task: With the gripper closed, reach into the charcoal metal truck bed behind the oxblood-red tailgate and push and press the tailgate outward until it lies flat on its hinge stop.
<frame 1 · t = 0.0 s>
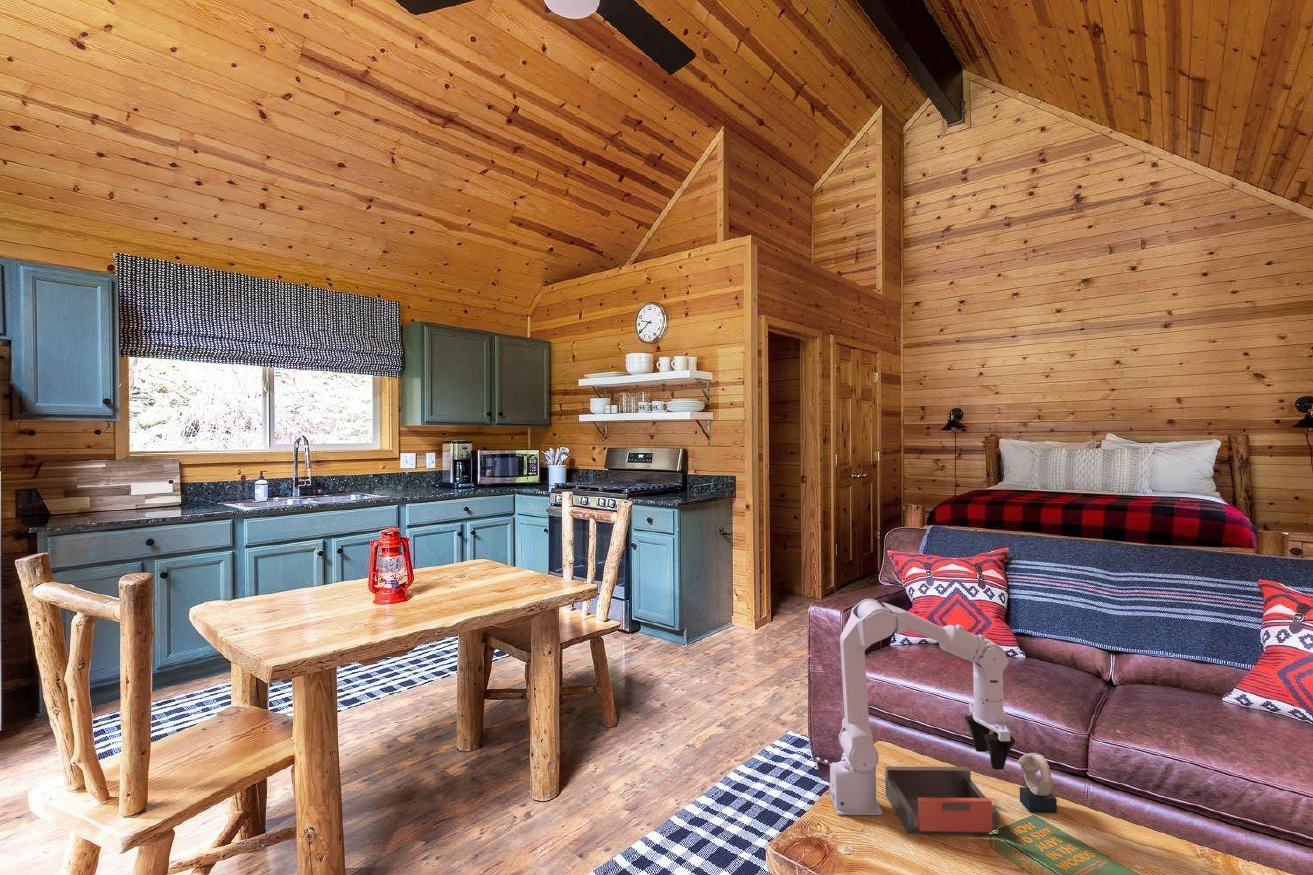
hand: (989, 759, 140), 10 cm above the table, tool pointing down, fingers open, 7 cm apart
truck bed: (939, 813, 137), on the table
ring sculpture: (1037, 807, 139), on the table
tailgate: (954, 829, 129), point 2 cm above the table, hinge at 0.0°
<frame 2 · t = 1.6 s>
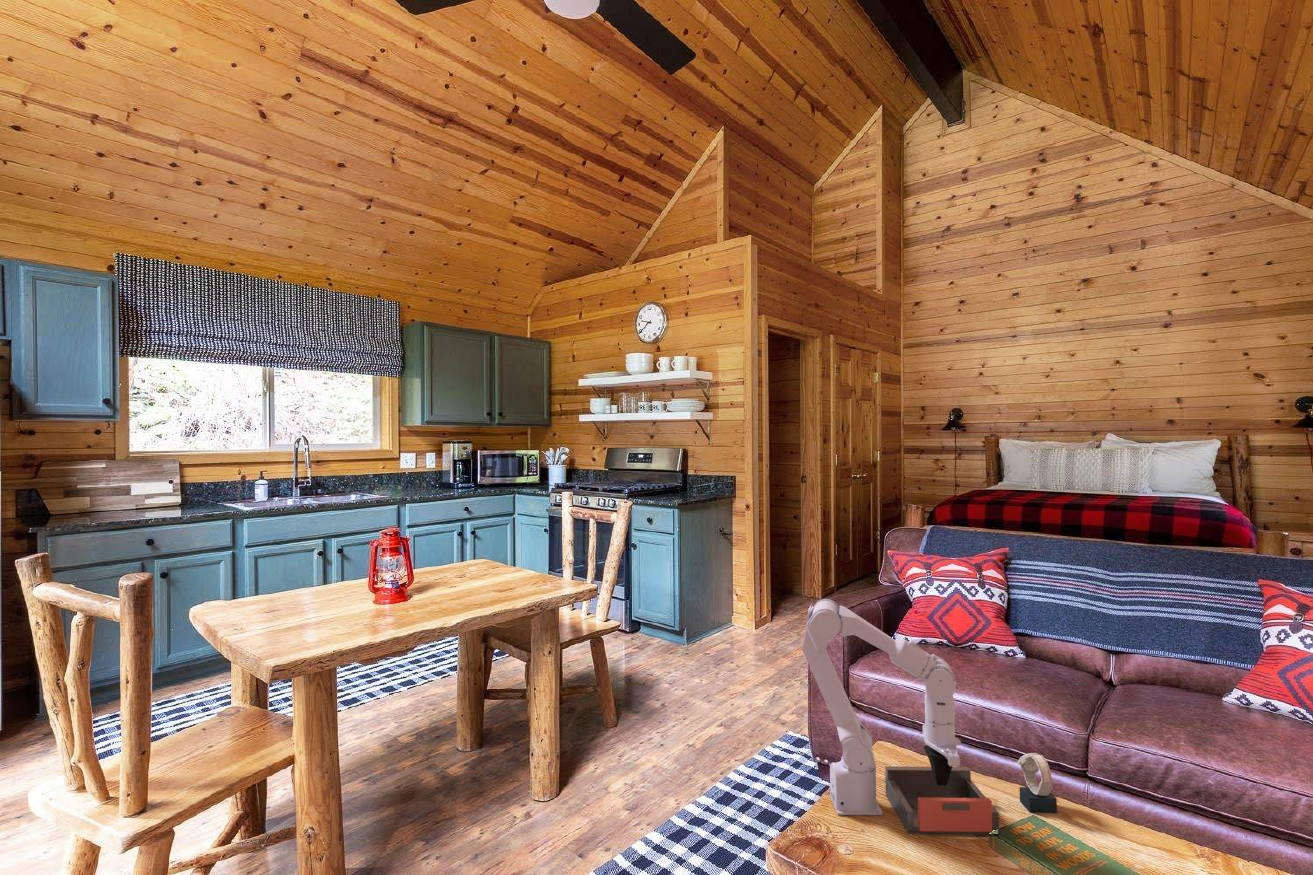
hand: (941, 783, 136), 7 cm above the table, tool pointing down, fingers closed
nothing on the table moved.
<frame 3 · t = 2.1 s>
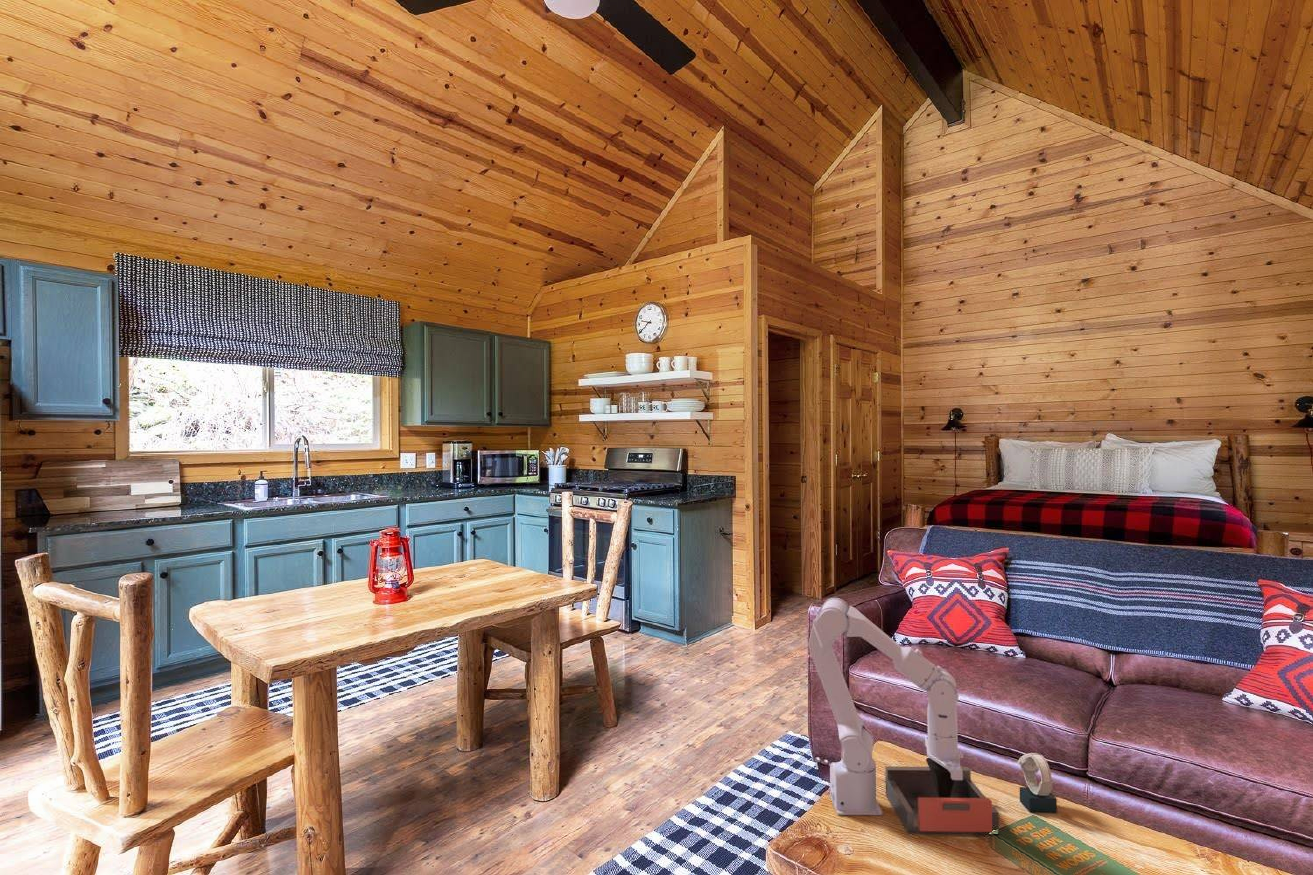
hand: (943, 796, 135), 5 cm above the table, tool pointing down, fingers closed
nothing on the table moved.
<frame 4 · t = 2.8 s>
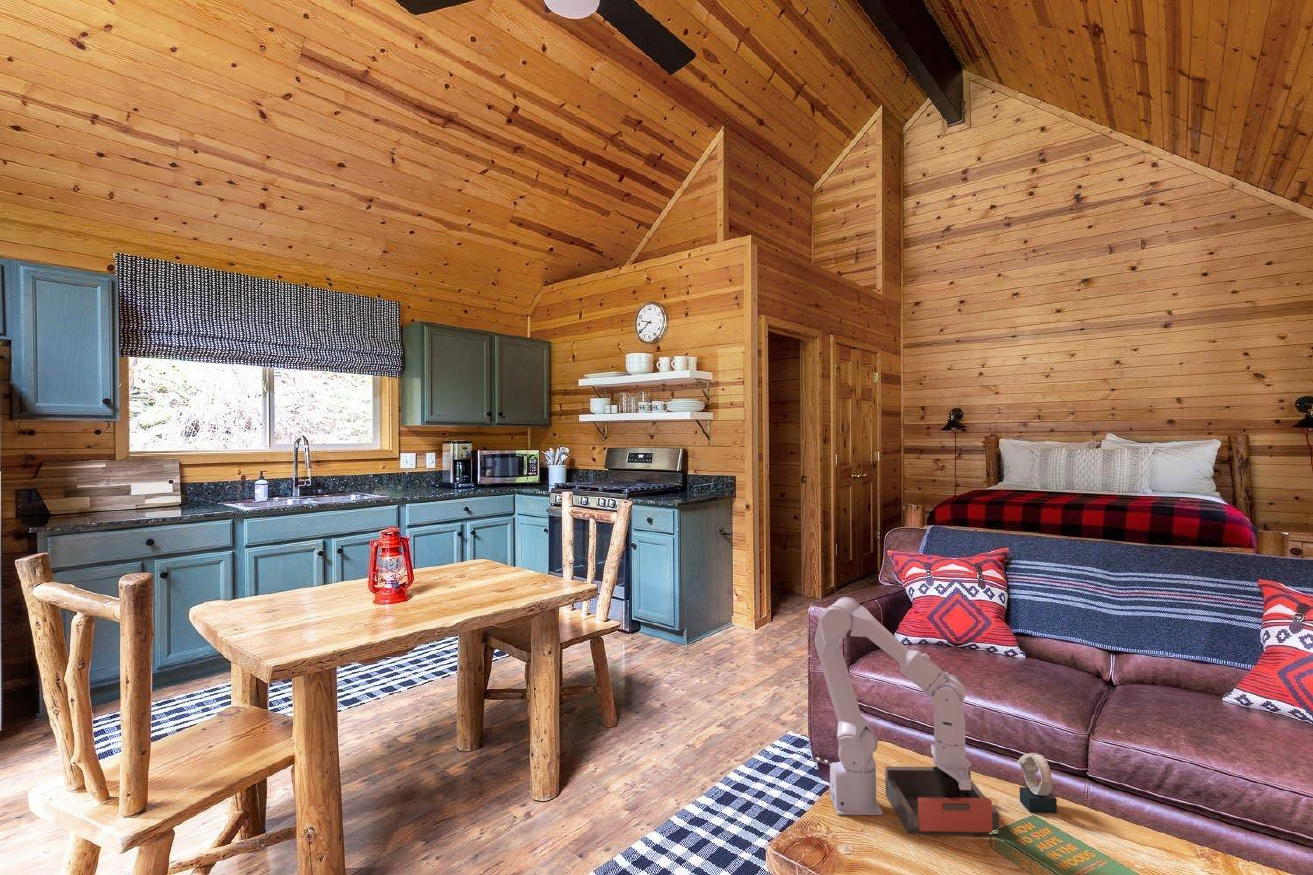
hand: (950, 806, 131), 5 cm above the table, tool pointing down, fingers closed
tailgate: (954, 829, 129), point 2 cm above the table, hinge at 0.0°, touching gripper
everything else where it was.
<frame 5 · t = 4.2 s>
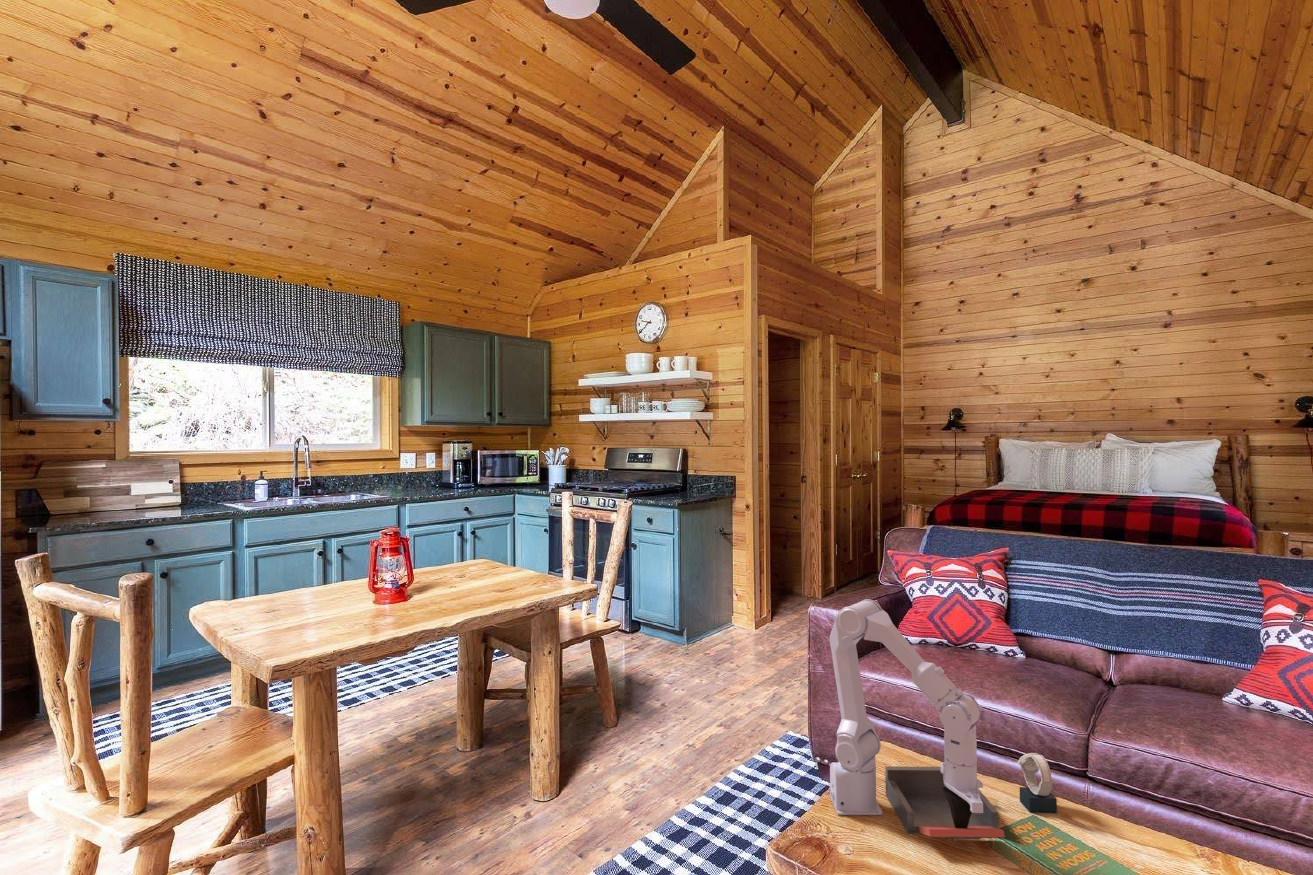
hand: (961, 828, 126), 3 cm above the table, tool pointing down, fingers closed, pressing on tailgate
tailgate: (954, 829, 129), point 2 cm above the table, hinge at 64.7°, touching gripper
everything else where it was.
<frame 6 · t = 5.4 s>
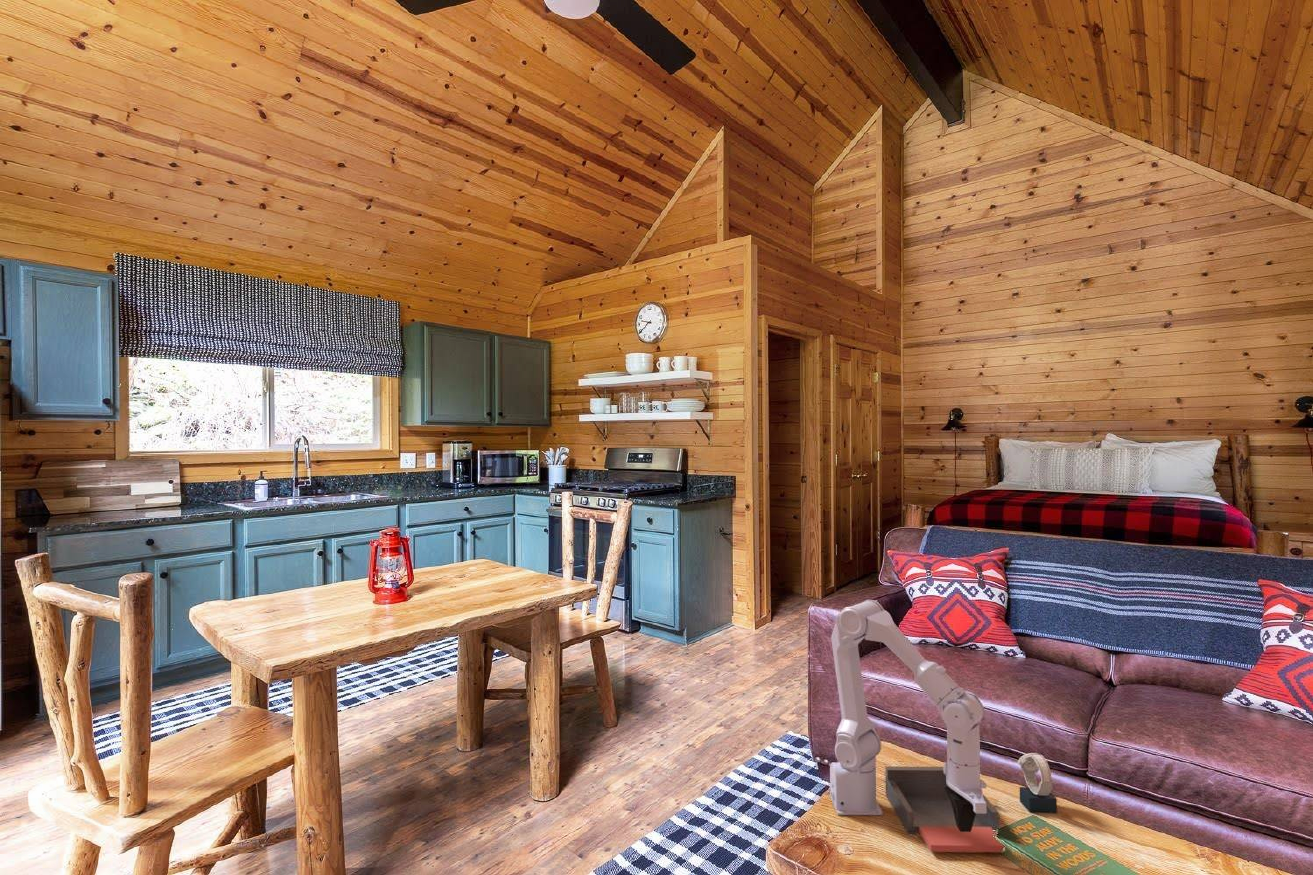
hand: (964, 829, 125), 4 cm above the table, tool pointing down, fingers closed
tailgate: (954, 829, 129), point 2 cm above the table, hinge at 90.3°
everything else where it was.
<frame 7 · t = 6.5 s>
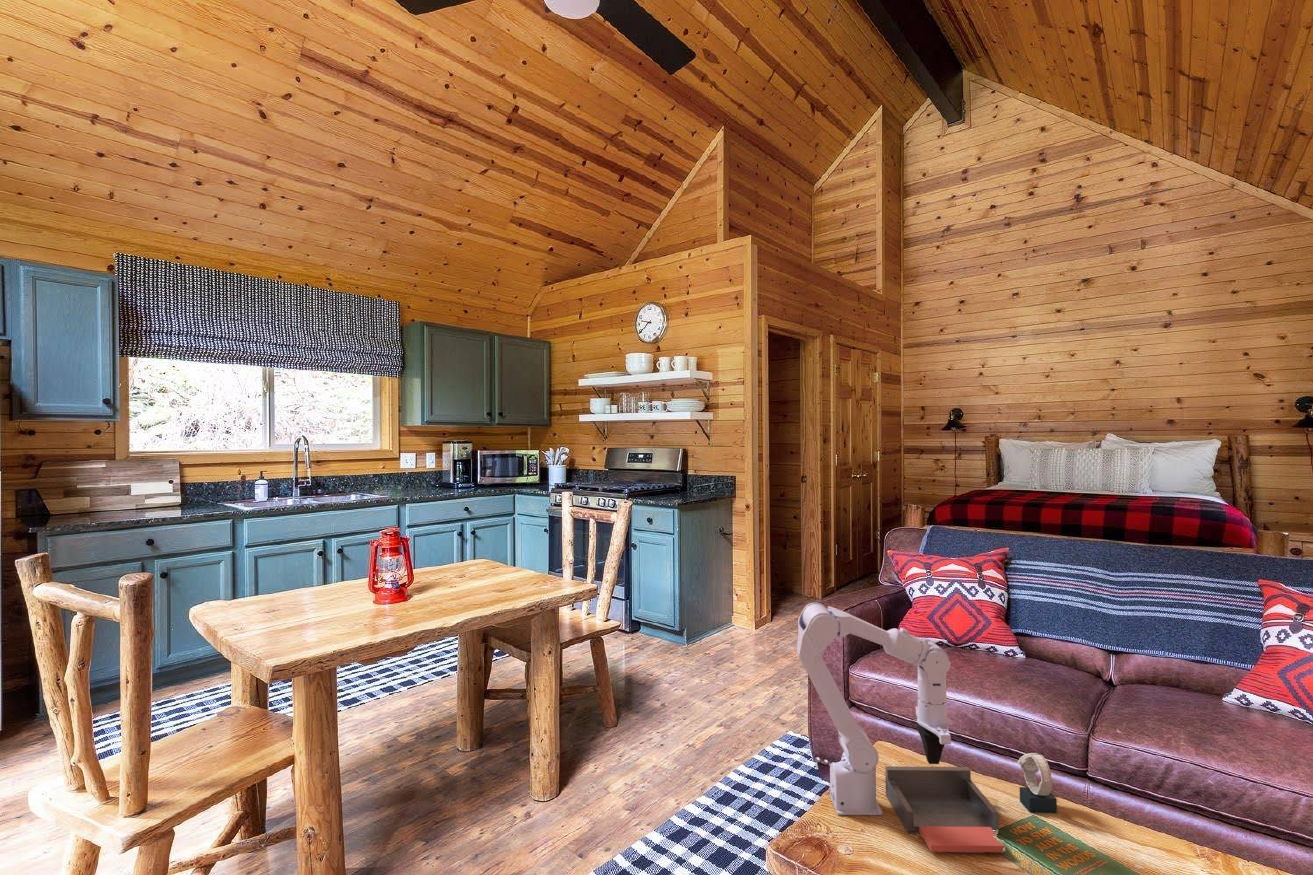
hand: (933, 762, 140), 9 cm above the table, tool pointing down, fingers closed
nothing on the table moved.
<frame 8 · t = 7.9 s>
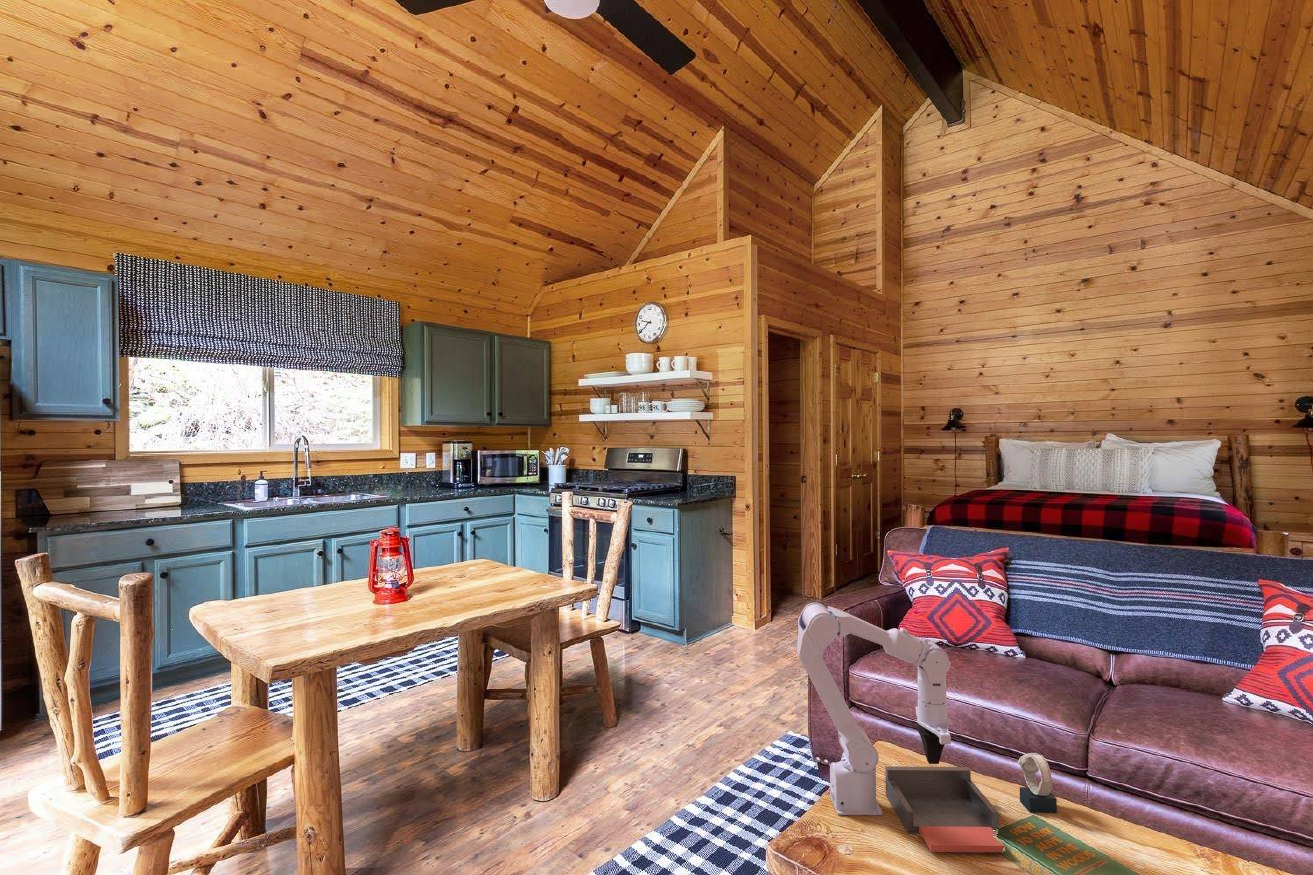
hand: (932, 762, 140), 9 cm above the table, tool pointing down, fingers closed
nothing on the table moved.
at the end: tailgate at +90° (first picture: +0°); ring sculpture moved 0.2 cm from its start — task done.
